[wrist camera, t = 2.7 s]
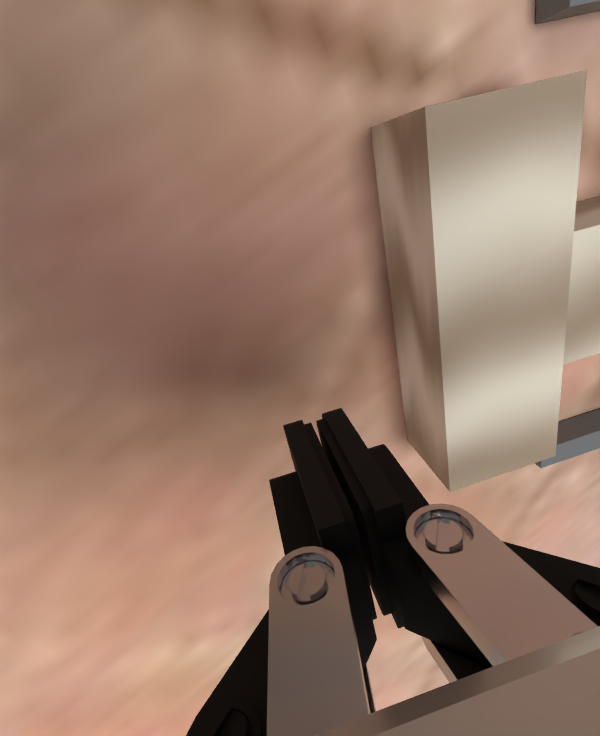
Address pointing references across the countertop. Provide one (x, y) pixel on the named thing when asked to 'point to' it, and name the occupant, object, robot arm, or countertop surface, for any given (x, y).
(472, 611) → the robot arm
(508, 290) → the t block
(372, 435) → the countertop surface
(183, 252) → the countertop surface
